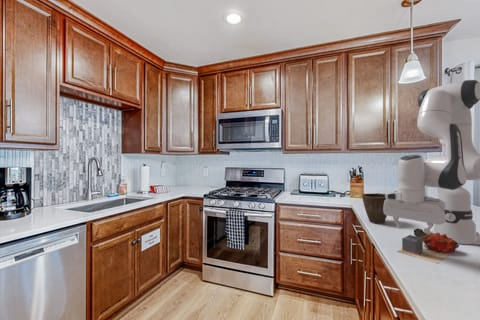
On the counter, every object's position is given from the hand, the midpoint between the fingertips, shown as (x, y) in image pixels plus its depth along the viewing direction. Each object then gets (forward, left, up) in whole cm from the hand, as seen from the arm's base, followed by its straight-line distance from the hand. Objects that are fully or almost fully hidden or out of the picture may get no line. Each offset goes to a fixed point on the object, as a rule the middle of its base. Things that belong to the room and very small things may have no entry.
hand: (412, 230), depth 94 cm
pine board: (+1, +3, -9) cm, 10 cm away
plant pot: (-36, -31, -10) cm, 49 cm away
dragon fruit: (-9, +6, -9) cm, 14 cm away
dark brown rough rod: (-19, -1, -10) cm, 21 cm away
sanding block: (+1, 0, -8) cm, 8 cm away
